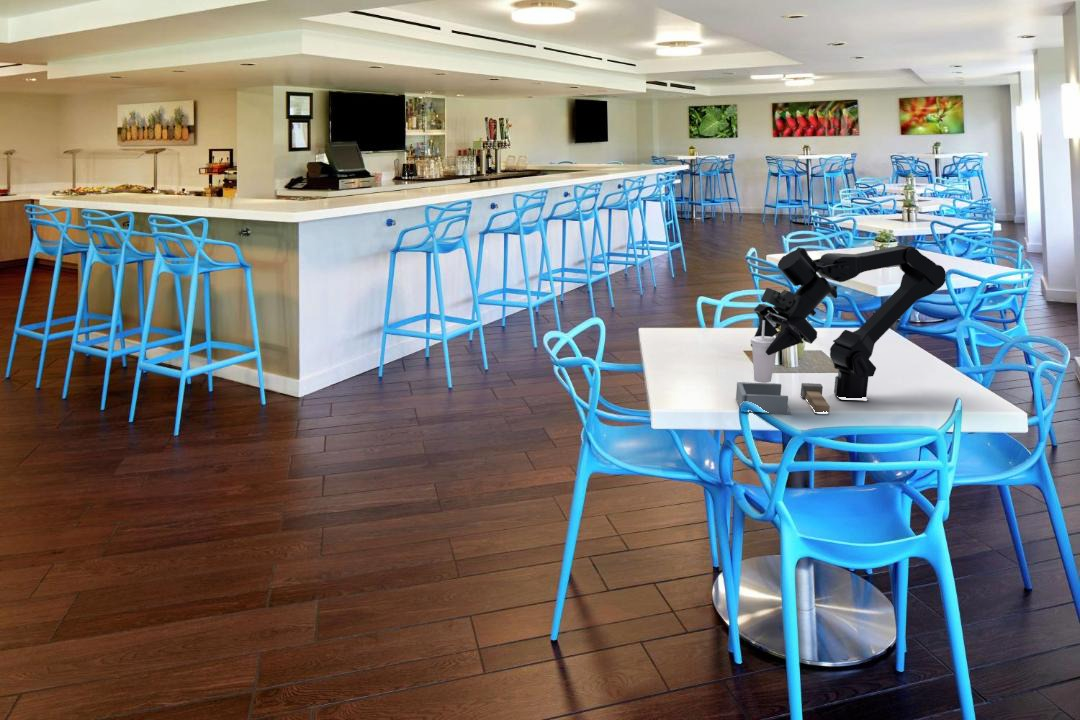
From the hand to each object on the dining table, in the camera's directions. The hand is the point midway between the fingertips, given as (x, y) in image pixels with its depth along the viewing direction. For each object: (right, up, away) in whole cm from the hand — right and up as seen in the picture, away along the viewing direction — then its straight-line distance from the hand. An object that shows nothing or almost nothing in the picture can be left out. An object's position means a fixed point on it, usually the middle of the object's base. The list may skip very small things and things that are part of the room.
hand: (759, 350), depth 191 cm
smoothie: (+1, -7, +2) cm, 8 cm away
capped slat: (+14, -13, +3) cm, 19 cm away
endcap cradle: (+1, -13, +3) cm, 13 cm away
